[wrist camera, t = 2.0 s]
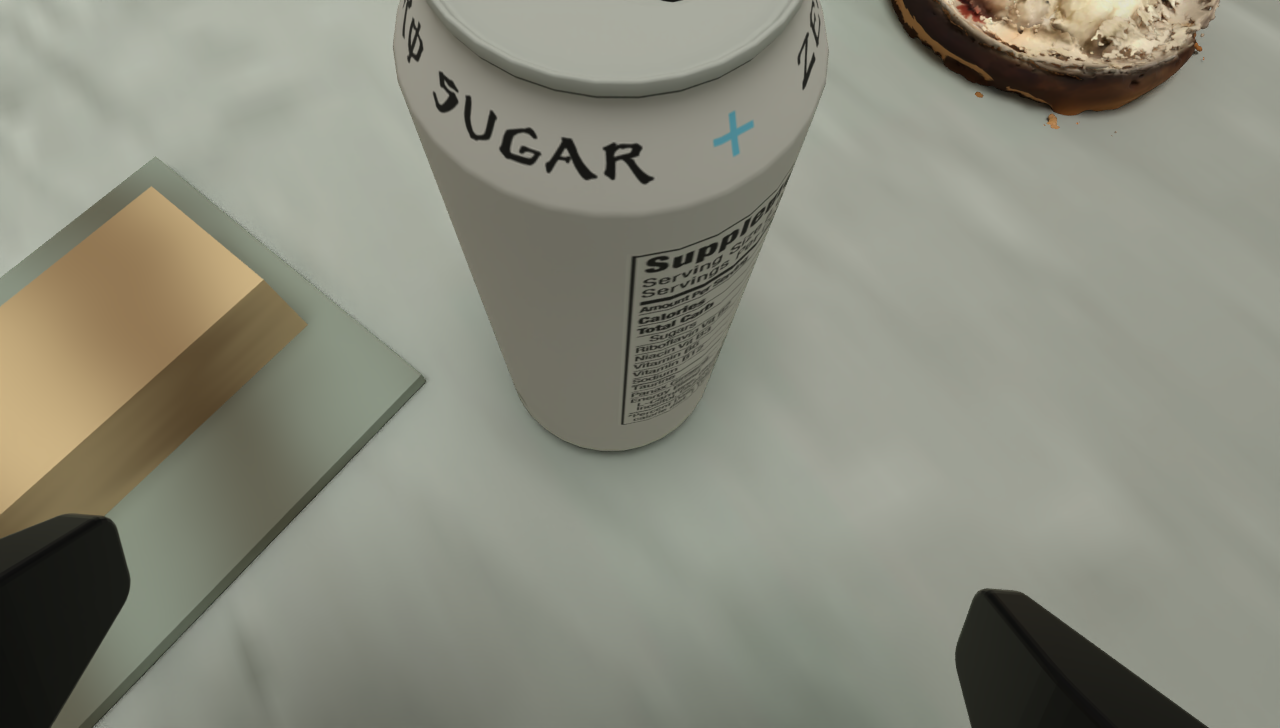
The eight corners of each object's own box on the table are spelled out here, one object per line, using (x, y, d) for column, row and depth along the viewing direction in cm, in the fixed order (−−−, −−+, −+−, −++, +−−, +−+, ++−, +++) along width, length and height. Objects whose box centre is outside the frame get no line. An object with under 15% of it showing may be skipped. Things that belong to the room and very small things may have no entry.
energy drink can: (596, 243, 24) (579, -308, 10) (745, 349, 23) (963, -101, 9) (472, 378, 22) (236, -62, 8) (627, 499, 21) (663, 235, 7)
